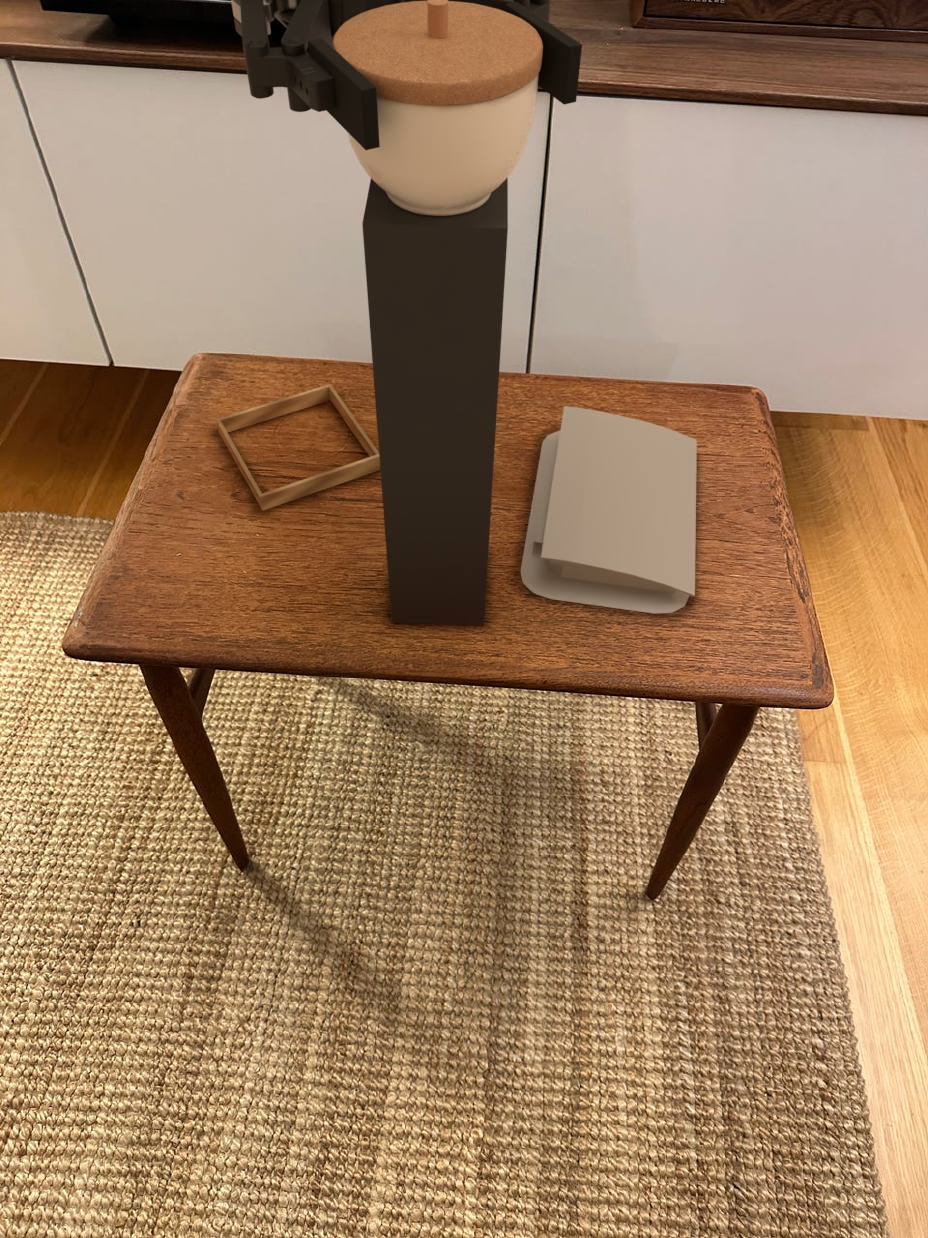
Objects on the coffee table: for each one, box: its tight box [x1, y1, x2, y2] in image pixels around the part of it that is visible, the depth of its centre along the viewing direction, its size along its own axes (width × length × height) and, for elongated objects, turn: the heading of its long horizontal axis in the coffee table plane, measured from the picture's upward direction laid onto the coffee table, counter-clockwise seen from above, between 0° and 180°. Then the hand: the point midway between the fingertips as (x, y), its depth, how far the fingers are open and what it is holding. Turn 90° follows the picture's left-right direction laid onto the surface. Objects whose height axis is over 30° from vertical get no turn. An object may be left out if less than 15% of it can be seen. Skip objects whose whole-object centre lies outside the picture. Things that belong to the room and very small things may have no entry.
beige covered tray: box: [519, 405, 698, 615], centre depth 85 cm, size 15×23×4 cm, turn 170°
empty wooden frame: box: [215, 383, 380, 511], centre depth 90 cm, size 13×13×2 cm
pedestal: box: [361, 176, 509, 627], centre depth 66 cm, size 8×8×36 cm
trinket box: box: [332, 0, 543, 216], centre depth 48 cm, size 11×11×9 cm
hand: (476, 96), depth 45 cm, fingers closed on trinket box, 11 cm apart
